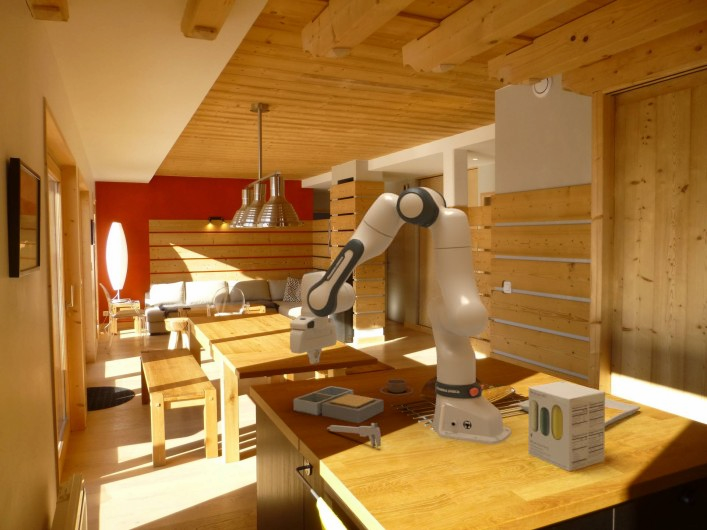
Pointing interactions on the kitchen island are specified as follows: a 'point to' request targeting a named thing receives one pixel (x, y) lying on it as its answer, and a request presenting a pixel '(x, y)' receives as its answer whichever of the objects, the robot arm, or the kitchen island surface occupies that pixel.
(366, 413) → the square frame
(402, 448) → the kitchen island surface
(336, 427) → the caliper
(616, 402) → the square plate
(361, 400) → the button
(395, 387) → the place setting
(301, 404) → the tray
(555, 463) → the supplement box
